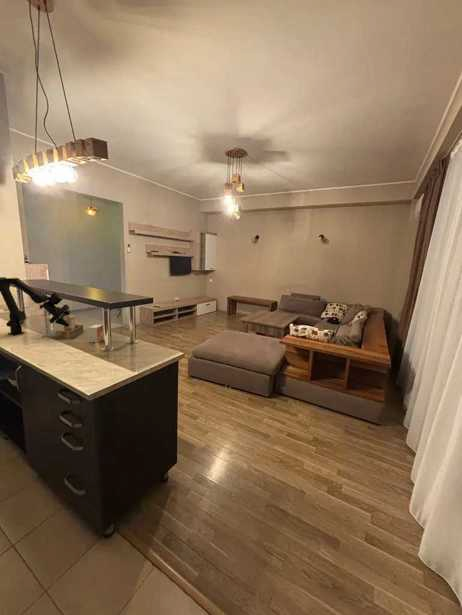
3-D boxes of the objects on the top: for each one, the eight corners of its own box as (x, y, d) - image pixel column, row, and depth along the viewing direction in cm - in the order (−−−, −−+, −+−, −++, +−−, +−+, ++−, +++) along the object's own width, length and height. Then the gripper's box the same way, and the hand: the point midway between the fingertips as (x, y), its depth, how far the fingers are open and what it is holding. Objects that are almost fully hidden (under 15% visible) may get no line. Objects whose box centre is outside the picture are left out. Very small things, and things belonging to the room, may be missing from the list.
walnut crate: (55, 338, 166) (55, 331, 165) (68, 331, 182) (68, 324, 181) (72, 338, 167) (71, 331, 166) (83, 331, 184) (83, 324, 183)
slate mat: (41, 336, 167) (41, 336, 166) (51, 331, 178) (51, 331, 178) (59, 337, 168) (59, 336, 168) (68, 332, 180) (68, 331, 180)
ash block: (64, 334, 172) (63, 316, 169) (68, 332, 177) (67, 315, 174) (72, 335, 173) (71, 317, 170) (75, 332, 177) (74, 315, 175)
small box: (97, 343, 163) (96, 327, 161) (88, 342, 163) (88, 327, 161) (103, 339, 171) (103, 324, 169) (95, 338, 171) (95, 324, 169)
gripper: (53, 303, 160) (72, 320, 164) (67, 299, 178) (84, 314, 182) (40, 315, 161) (60, 331, 164) (56, 309, 179) (73, 324, 182)
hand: (70, 325), depth 173 cm, fingers closed on ash block, 5 cm apart
